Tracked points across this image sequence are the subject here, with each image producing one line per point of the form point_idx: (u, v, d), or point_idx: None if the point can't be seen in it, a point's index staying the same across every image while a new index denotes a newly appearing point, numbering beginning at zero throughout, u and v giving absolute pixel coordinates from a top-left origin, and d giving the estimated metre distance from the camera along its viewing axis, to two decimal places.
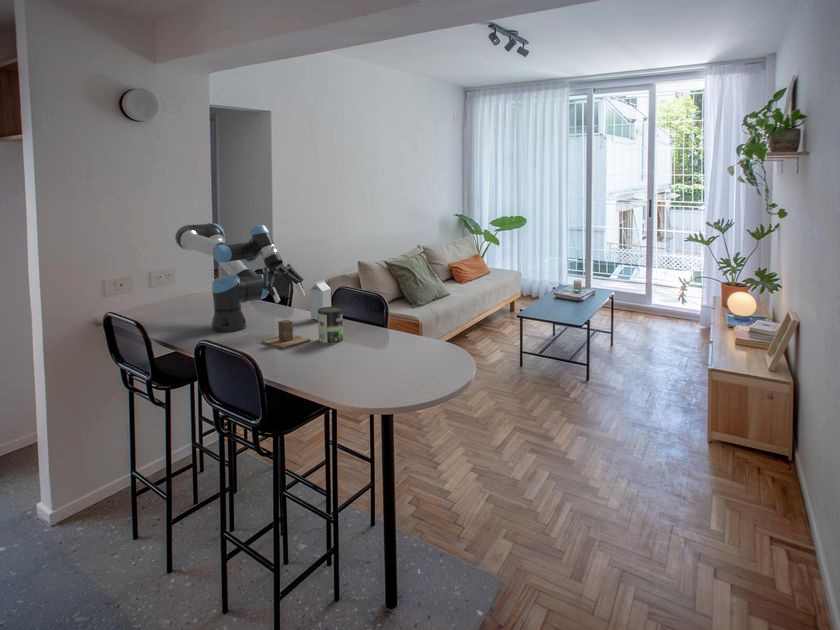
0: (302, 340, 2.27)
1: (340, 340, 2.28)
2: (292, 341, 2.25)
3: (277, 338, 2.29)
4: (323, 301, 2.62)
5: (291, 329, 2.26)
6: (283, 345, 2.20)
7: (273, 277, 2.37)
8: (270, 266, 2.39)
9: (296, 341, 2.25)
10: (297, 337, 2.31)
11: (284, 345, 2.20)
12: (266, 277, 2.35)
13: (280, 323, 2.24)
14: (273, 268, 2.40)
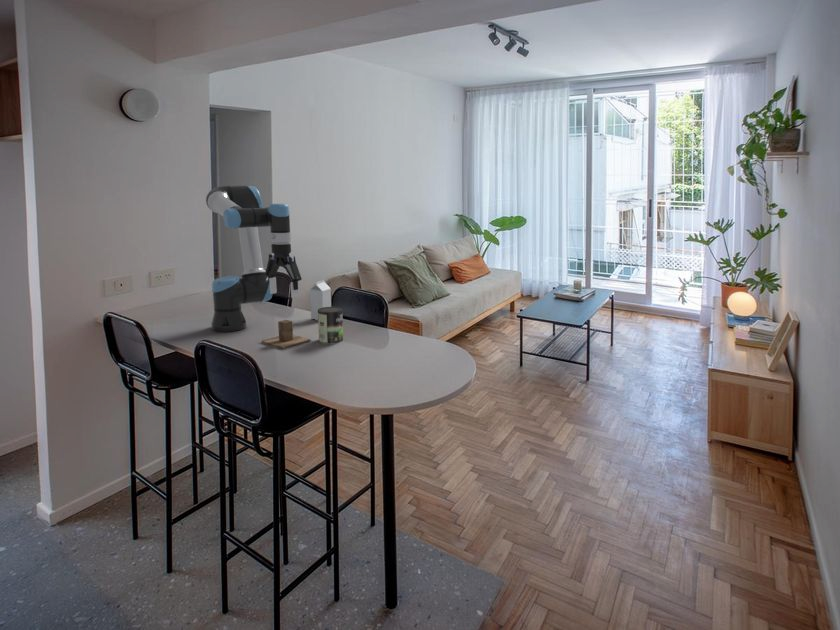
0: (302, 340, 2.27)
1: (340, 340, 2.28)
2: (292, 341, 2.25)
3: (277, 338, 2.29)
4: (323, 301, 2.62)
5: (291, 329, 2.26)
6: (283, 345, 2.20)
7: (272, 267, 2.22)
8: (274, 254, 2.20)
9: (296, 341, 2.25)
10: (297, 337, 2.31)
11: (284, 345, 2.20)
12: (267, 265, 2.24)
13: (280, 323, 2.24)
14: (275, 257, 2.20)
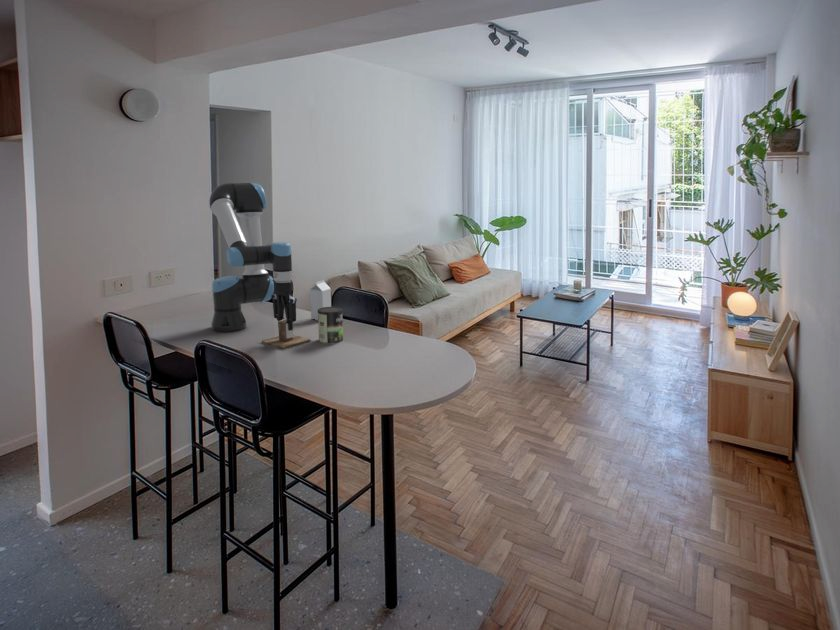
0: (302, 340, 2.27)
1: (340, 340, 2.28)
2: (292, 341, 2.25)
3: (277, 338, 2.29)
4: (323, 301, 2.62)
5: None
6: (283, 345, 2.20)
7: (278, 308, 2.24)
8: None
9: (296, 341, 2.25)
10: (297, 337, 2.31)
11: (284, 345, 2.20)
12: (273, 307, 2.26)
13: (280, 323, 2.24)
14: (277, 294, 2.23)
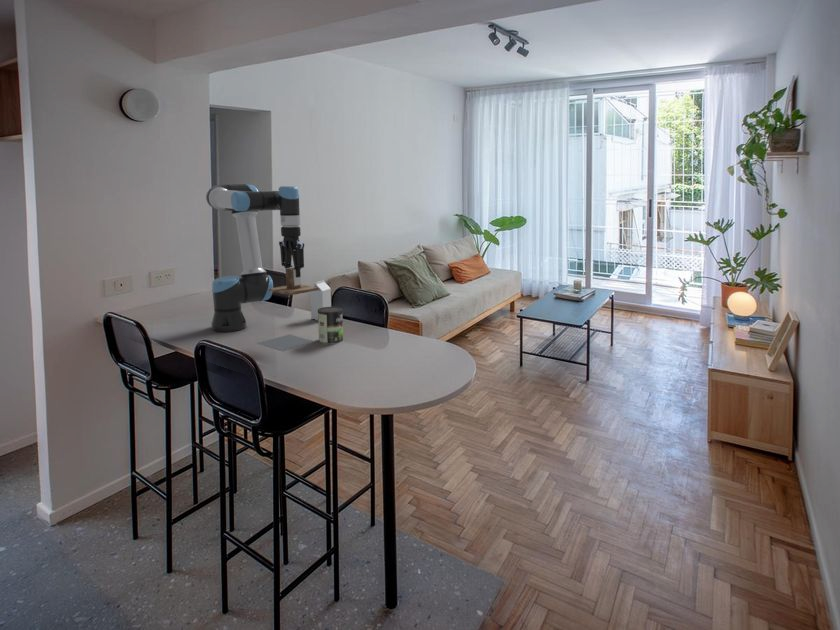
0: (310, 288, 2.22)
1: (340, 340, 2.28)
2: (300, 289, 2.20)
3: (285, 287, 2.24)
4: (323, 301, 2.62)
5: None
6: (290, 291, 2.15)
7: (285, 254, 2.20)
8: None
9: (304, 289, 2.20)
10: (305, 286, 2.26)
11: (291, 291, 2.15)
12: (281, 254, 2.22)
13: (287, 270, 2.19)
14: (285, 240, 2.18)
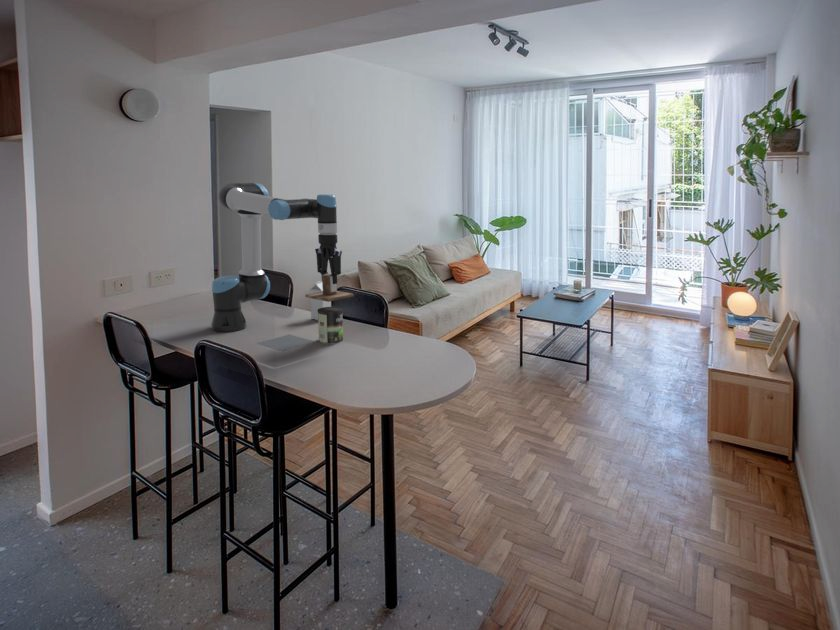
0: (346, 294, 2.25)
1: (340, 340, 2.28)
2: (336, 295, 2.24)
3: (320, 293, 2.28)
4: (323, 301, 2.62)
5: None
6: (328, 298, 2.18)
7: (322, 261, 2.23)
8: None
9: (340, 295, 2.24)
10: (340, 292, 2.30)
11: (329, 298, 2.18)
12: (317, 261, 2.25)
13: (324, 277, 2.23)
14: (322, 247, 2.22)
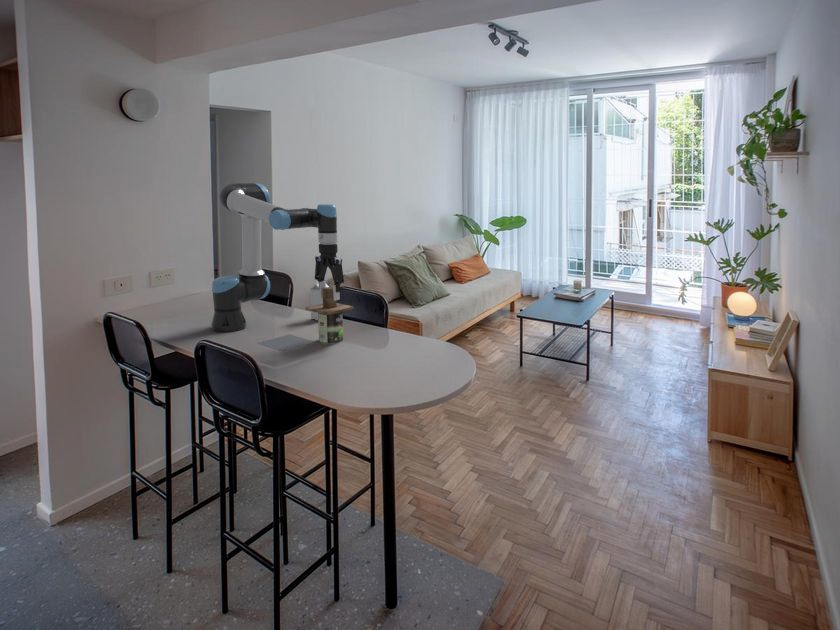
0: (346, 307, 2.27)
1: (340, 340, 2.28)
2: (336, 308, 2.25)
3: (320, 305, 2.29)
4: None
5: None
6: (328, 311, 2.20)
7: (321, 269, 2.25)
8: None
9: (340, 308, 2.25)
10: (340, 305, 2.31)
11: (329, 311, 2.20)
12: (316, 268, 2.27)
13: (324, 290, 2.24)
14: (322, 257, 2.23)
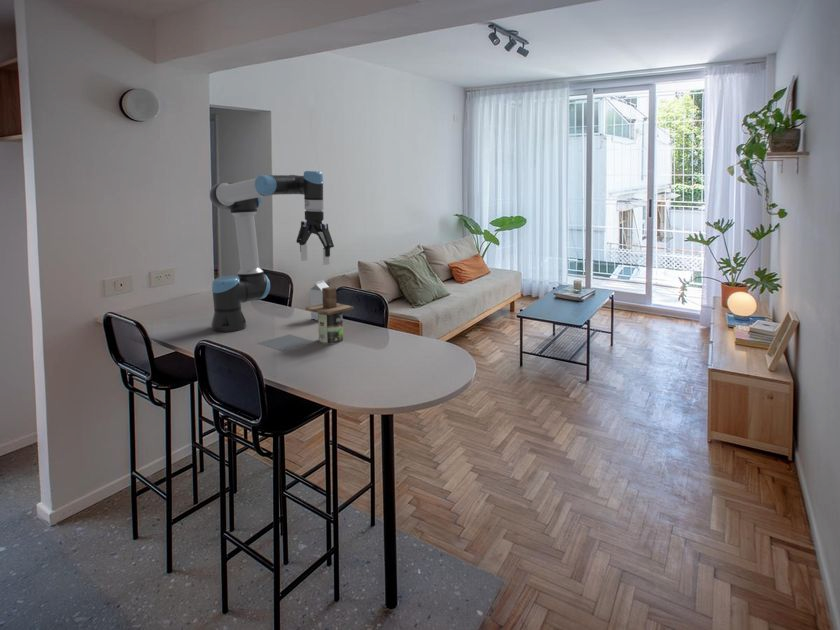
0: (346, 307, 2.27)
1: (340, 340, 2.28)
2: (336, 308, 2.25)
3: (320, 305, 2.29)
4: None
5: (335, 295, 2.26)
6: (328, 311, 2.20)
7: (304, 234, 2.26)
8: (306, 221, 2.24)
9: (340, 308, 2.25)
10: (340, 305, 2.31)
11: (329, 311, 2.20)
12: (299, 232, 2.27)
13: (324, 290, 2.24)
14: (308, 224, 2.23)
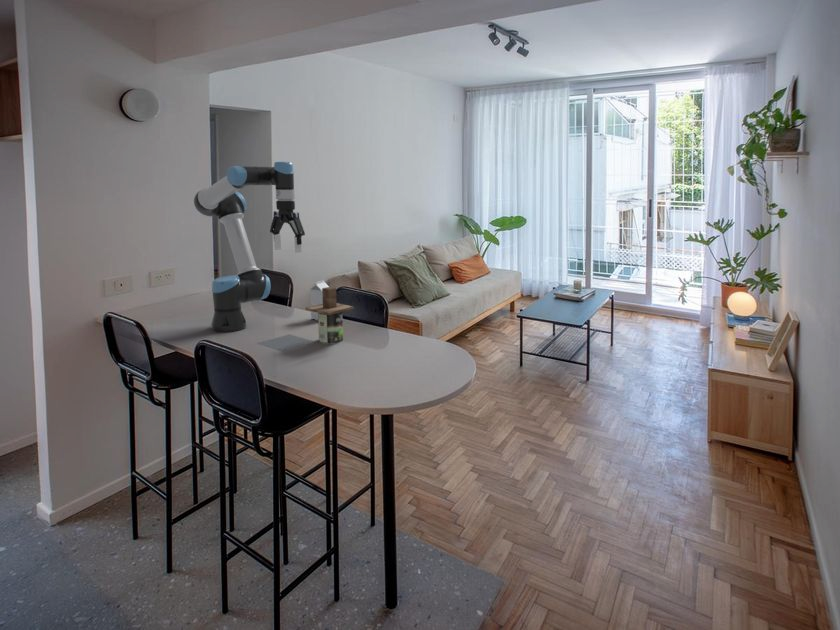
0: (346, 307, 2.27)
1: (340, 340, 2.28)
2: (336, 308, 2.25)
3: (320, 305, 2.29)
4: None
5: (335, 295, 2.26)
6: (328, 311, 2.20)
7: (277, 224, 2.32)
8: (279, 211, 2.30)
9: (340, 308, 2.25)
10: (340, 305, 2.31)
11: (329, 311, 2.20)
12: (272, 222, 2.34)
13: (324, 290, 2.24)
14: None
